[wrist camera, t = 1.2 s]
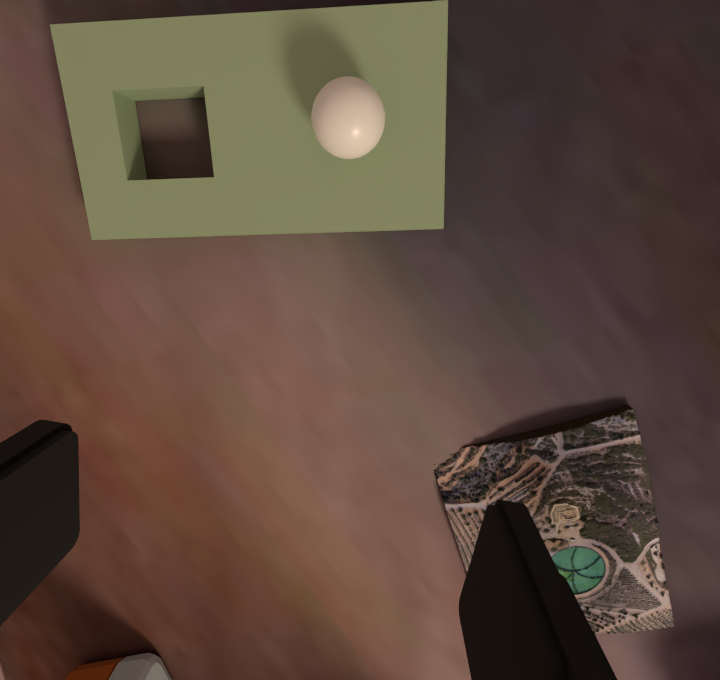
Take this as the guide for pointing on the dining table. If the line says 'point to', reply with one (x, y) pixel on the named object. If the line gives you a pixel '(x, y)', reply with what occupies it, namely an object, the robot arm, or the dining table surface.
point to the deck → (260, 119)
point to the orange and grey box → (123, 669)
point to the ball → (348, 117)
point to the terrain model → (574, 511)
